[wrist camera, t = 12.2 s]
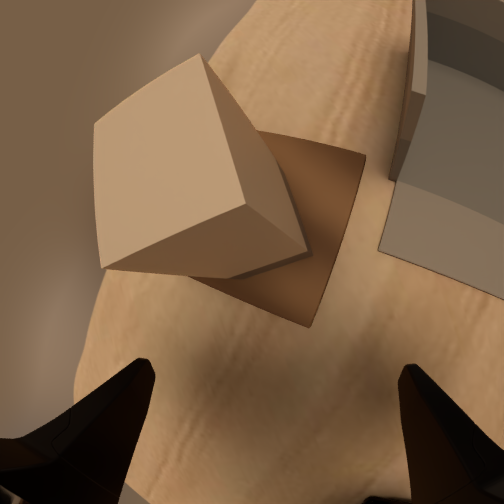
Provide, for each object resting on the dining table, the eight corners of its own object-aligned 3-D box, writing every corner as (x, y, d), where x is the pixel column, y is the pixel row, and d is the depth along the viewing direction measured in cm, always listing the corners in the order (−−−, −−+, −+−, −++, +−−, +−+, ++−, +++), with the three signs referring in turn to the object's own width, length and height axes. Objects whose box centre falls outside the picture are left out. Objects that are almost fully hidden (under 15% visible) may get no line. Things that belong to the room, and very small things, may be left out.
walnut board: (310, 326, 18) (308, 328, 17) (169, 265, 22) (162, 264, 22) (365, 161, 18) (366, 155, 17) (221, 130, 22) (216, 124, 21)
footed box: (313, 255, 18) (245, 203, 6) (242, 279, 19) (101, 268, 8) (284, 172, 19) (199, 53, 8) (220, 199, 20) (94, 123, 9)
